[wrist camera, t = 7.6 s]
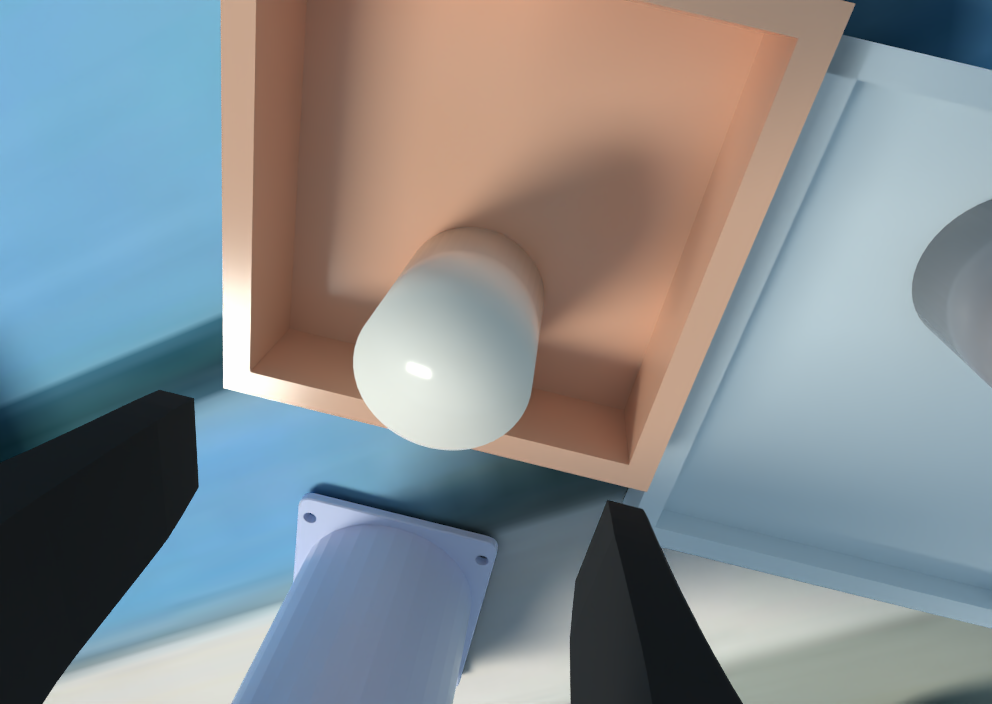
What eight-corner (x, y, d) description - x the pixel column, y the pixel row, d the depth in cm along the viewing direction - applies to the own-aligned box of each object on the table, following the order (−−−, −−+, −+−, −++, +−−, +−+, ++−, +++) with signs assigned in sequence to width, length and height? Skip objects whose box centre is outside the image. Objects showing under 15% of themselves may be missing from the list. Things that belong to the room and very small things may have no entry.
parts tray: (992, 593, 24) (1021, 635, 22) (622, 502, 24) (624, 538, 22) (1368, 162, 16) (1454, 179, 14) (814, 31, 16) (839, 34, 14)
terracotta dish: (638, 424, 22) (646, 492, 19) (273, 335, 22) (223, 388, 19) (803, 4, 16) (855, 3, 13) (290, -117, 16) (219, -148, 13)
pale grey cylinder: (528, 371, 21) (513, 466, 16) (397, 342, 21) (347, 429, 17) (558, 244, 19) (550, 315, 14) (412, 212, 19) (359, 273, 14)
